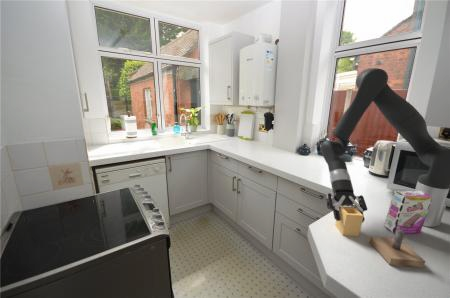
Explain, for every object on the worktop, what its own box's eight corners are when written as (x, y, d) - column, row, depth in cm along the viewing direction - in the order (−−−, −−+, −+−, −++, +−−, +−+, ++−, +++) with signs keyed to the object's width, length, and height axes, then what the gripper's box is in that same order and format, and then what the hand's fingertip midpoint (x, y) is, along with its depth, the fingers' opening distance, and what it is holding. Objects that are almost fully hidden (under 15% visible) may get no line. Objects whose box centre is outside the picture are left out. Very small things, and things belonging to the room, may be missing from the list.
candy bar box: (393, 234, 76) (404, 196, 72) (383, 226, 81) (393, 190, 77) (421, 234, 77) (433, 196, 73) (409, 226, 81) (420, 190, 77)
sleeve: (350, 226, 80) (354, 207, 78) (358, 236, 74) (363, 215, 72) (335, 225, 81) (338, 206, 78) (342, 235, 75) (346, 214, 73)
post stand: (398, 244, 71) (404, 221, 68) (423, 267, 61) (431, 241, 59) (369, 242, 71) (374, 219, 69) (389, 264, 62) (396, 239, 59)
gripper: (327, 177, 81) (335, 218, 73) (363, 179, 80) (375, 221, 72) (320, 183, 87) (327, 221, 79) (353, 185, 86) (363, 224, 78)
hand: (350, 221), depth 75 cm, fingers open, 8 cm apart
